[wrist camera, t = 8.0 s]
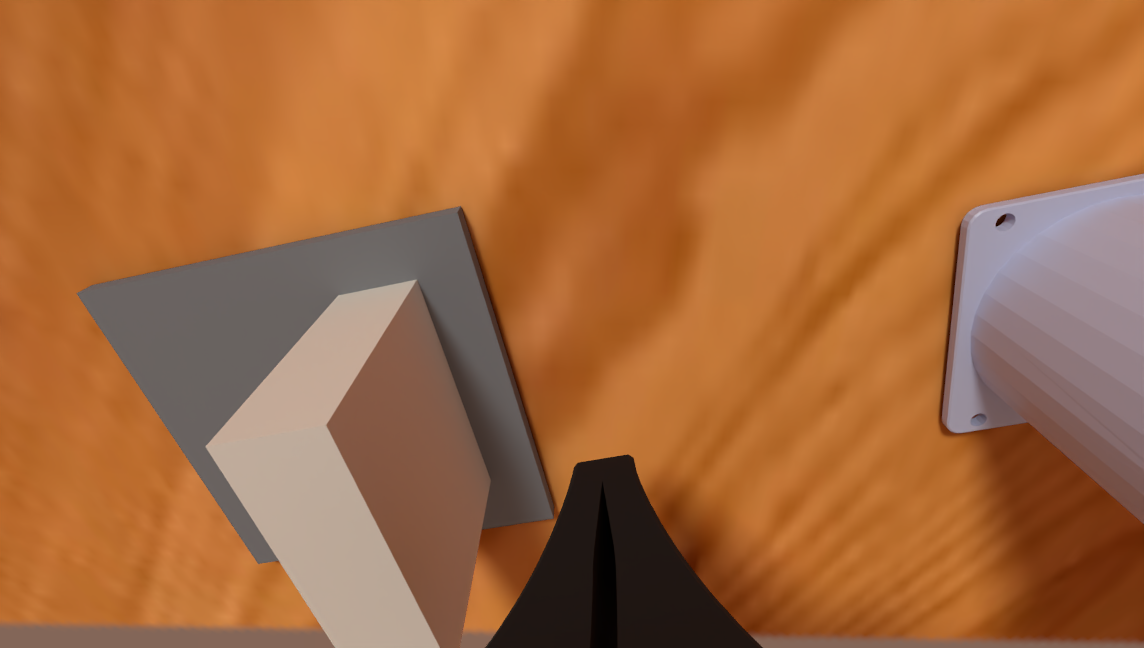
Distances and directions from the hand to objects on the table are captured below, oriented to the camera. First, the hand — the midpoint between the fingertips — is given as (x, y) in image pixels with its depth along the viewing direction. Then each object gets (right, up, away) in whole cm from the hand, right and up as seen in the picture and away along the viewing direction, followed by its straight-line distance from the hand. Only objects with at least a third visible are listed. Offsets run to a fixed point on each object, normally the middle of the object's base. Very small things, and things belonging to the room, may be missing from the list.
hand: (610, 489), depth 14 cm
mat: (-9, +1, +6) cm, 11 cm away
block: (-6, +2, +5) cm, 8 cm away
